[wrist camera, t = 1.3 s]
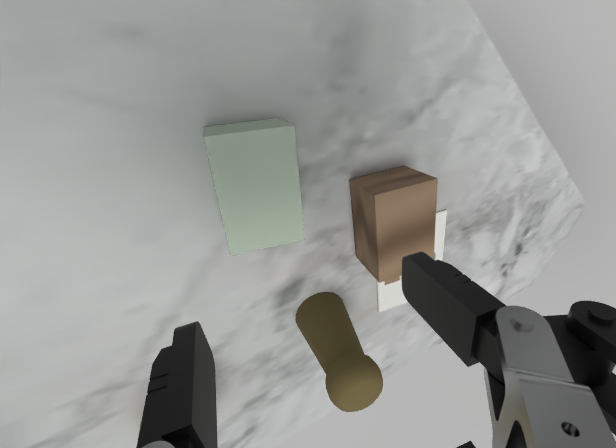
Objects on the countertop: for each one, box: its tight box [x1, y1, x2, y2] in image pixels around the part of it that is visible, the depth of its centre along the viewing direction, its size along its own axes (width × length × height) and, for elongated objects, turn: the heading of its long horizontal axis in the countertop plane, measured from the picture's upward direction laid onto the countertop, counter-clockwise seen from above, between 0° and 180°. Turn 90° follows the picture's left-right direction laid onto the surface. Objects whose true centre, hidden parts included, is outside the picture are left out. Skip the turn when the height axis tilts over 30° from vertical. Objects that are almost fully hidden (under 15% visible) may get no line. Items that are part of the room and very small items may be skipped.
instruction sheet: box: [377, 210, 447, 312], centre depth 36 cm, size 12×9×1 cm
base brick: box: [349, 166, 438, 283], centre depth 29 cm, size 9×6×5 cm, turn 9°
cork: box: [296, 292, 383, 412], centre depth 30 cm, size 6×6×11 cm
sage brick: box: [203, 118, 305, 256], centre depth 24 cm, size 9×6×5 cm, turn 5°
